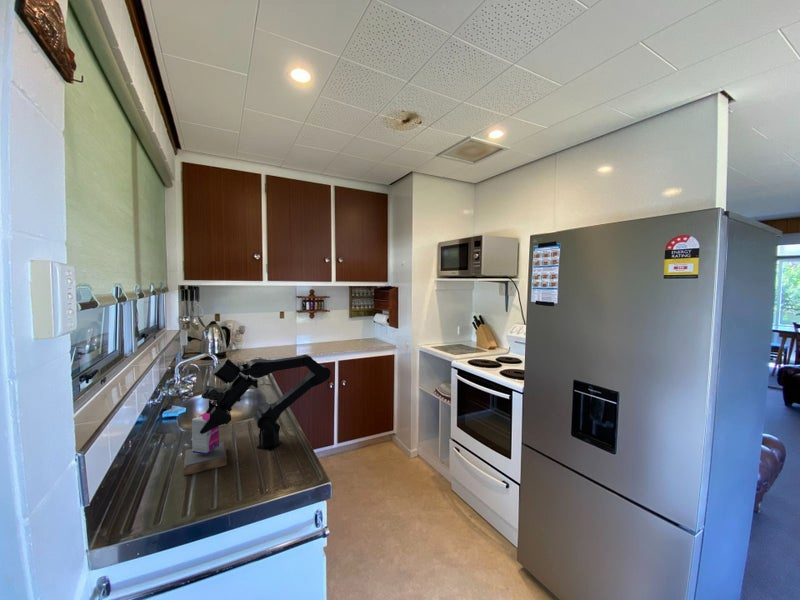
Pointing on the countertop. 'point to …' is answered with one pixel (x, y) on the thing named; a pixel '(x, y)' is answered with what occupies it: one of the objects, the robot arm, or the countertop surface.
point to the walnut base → (205, 460)
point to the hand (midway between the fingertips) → (200, 428)
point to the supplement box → (203, 436)
